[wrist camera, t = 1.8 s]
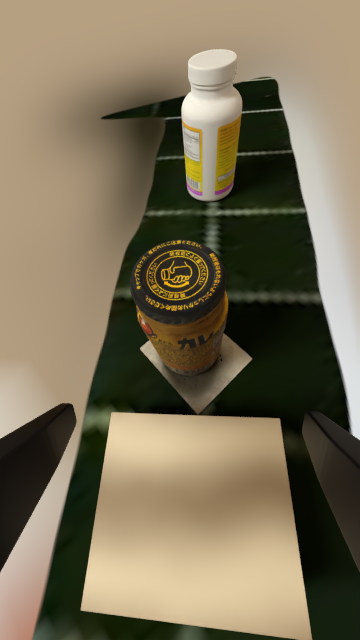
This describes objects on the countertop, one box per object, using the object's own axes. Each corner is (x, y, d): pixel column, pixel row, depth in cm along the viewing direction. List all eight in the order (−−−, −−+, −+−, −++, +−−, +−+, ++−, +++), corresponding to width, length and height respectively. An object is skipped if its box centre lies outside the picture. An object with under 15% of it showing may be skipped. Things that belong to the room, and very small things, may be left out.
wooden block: (284, 587, 14) (312, 641, 11) (109, 567, 16) (80, 610, 12) (264, 419, 19) (279, 418, 15) (128, 414, 20) (111, 412, 16)
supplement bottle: (234, 175, 33) (251, 41, 22) (230, 204, 30) (247, 70, 19) (190, 174, 34) (184, 47, 23) (183, 202, 32) (172, 75, 20)
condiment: (191, 305, 24) (181, 209, 13) (252, 359, 21) (303, 290, 10) (140, 349, 23) (82, 280, 12) (198, 415, 19) (191, 402, 9)
